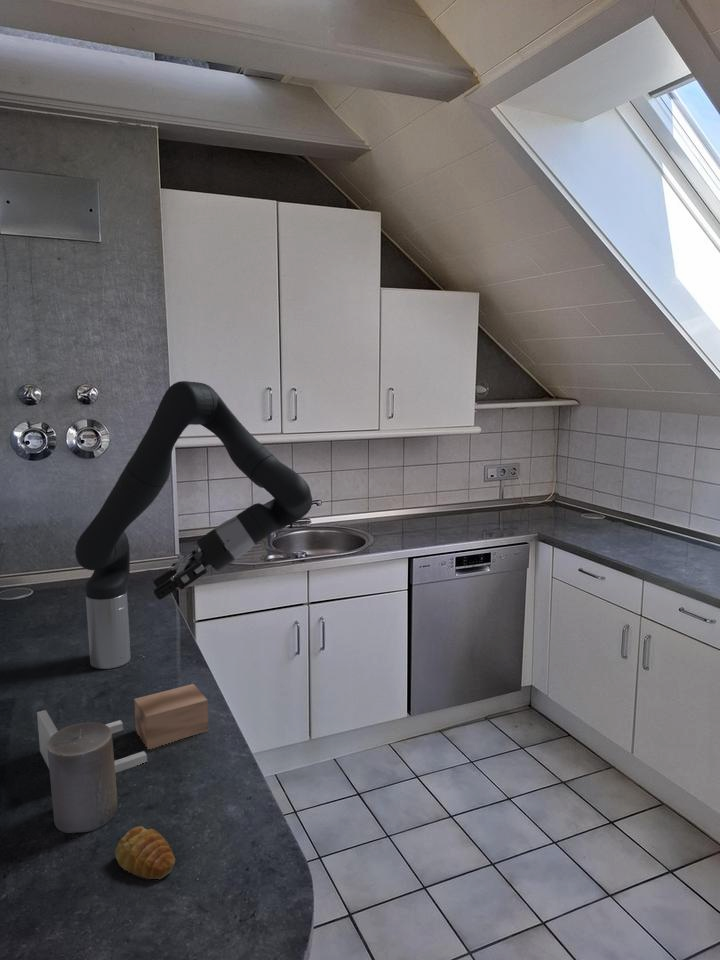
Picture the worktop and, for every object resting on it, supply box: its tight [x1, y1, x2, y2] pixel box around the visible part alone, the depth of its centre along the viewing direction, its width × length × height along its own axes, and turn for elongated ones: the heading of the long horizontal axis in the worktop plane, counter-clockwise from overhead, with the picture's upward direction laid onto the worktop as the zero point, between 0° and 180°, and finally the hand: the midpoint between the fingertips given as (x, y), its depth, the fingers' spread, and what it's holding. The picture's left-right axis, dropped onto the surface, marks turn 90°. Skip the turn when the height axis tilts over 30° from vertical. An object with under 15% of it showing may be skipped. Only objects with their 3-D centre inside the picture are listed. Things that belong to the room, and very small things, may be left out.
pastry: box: [114, 826, 176, 880], centre depth 102 cm, size 9×7×4 cm
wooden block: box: [133, 683, 210, 750], centre depth 138 cm, size 8×12×7 cm, turn 123°
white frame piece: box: [36, 709, 148, 774], centre depth 128 cm, size 15×15×8 cm
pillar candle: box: [47, 721, 119, 834], centre depth 112 cm, size 10×10×15 cm
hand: (155, 590), depth 136 cm, fingers open, 8 cm apart
